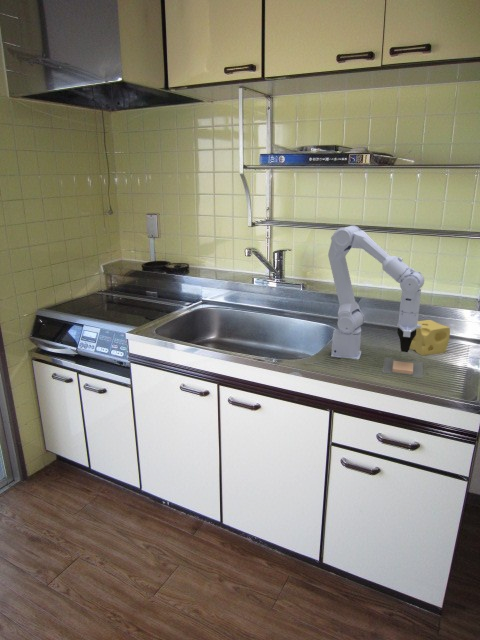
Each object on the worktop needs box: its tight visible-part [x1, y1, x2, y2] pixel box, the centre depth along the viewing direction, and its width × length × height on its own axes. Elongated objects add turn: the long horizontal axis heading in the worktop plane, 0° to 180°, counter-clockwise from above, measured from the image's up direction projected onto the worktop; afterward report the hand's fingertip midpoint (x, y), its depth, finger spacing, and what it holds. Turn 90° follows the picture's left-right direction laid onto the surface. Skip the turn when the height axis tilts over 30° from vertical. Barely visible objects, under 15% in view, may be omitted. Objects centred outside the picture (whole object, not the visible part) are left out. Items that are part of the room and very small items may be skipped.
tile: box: [392, 361, 413, 375], centre depth 146 cm, size 6×1×7 cm
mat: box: [381, 357, 424, 379], centre depth 148 cm, size 12×13×1 cm
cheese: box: [409, 319, 451, 357], centre depth 162 cm, size 10×11×10 cm
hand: (404, 351), depth 148 cm, fingers closed
